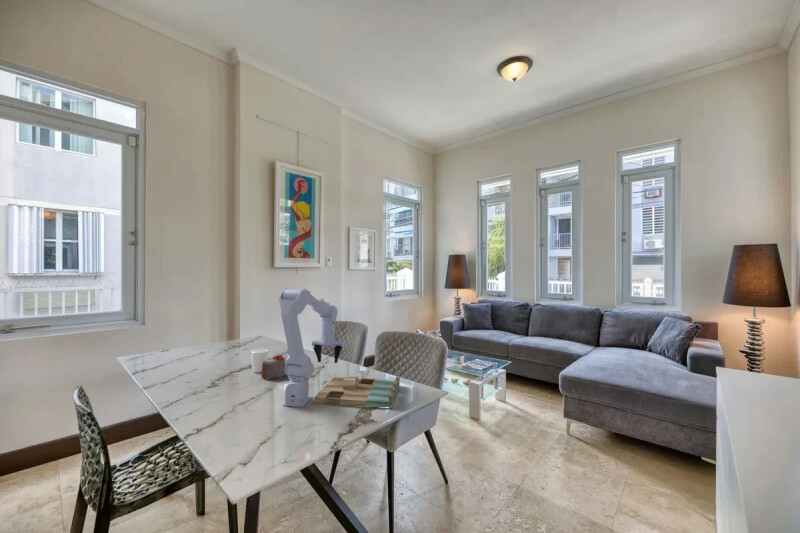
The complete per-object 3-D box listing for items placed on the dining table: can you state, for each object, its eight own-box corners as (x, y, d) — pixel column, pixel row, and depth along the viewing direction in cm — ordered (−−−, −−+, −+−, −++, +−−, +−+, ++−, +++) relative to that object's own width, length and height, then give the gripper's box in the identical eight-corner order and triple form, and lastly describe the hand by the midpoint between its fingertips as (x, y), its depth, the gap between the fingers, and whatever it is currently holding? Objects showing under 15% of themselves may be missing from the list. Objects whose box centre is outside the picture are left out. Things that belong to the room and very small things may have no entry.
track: (391, 409, 121) (391, 397, 121) (314, 404, 124) (314, 392, 124) (399, 385, 145) (399, 376, 145) (334, 382, 148) (334, 372, 148)
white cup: (263, 373, 159) (264, 352, 159) (247, 373, 159) (248, 352, 159) (270, 368, 167) (270, 348, 167) (255, 368, 167) (255, 348, 167)
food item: (286, 371, 163) (286, 351, 164) (295, 374, 158) (295, 354, 158) (260, 377, 153) (260, 356, 153) (268, 381, 148) (269, 360, 148)
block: (355, 390, 132) (355, 380, 132) (343, 389, 133) (343, 379, 133) (358, 385, 137) (358, 376, 137) (346, 385, 138) (346, 375, 138)
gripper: (346, 330, 150) (345, 360, 150) (315, 329, 151) (315, 358, 151) (342, 333, 143) (341, 364, 143) (310, 332, 144) (309, 363, 144)
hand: (327, 362), depth 146 cm, fingers open, 7 cm apart
